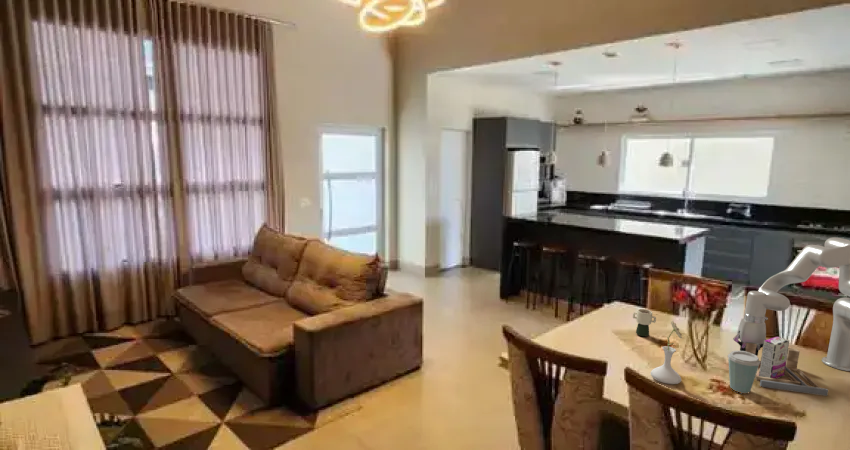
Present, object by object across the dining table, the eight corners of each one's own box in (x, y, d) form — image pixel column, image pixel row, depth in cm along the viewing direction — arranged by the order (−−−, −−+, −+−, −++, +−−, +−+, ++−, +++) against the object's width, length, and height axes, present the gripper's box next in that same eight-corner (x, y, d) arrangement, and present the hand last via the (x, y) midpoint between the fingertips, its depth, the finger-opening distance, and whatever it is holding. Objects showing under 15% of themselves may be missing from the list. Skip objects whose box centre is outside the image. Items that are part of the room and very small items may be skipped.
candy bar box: (771, 371, 202) (777, 335, 199) (784, 376, 197) (790, 340, 195) (757, 376, 196) (763, 339, 194) (770, 381, 192) (776, 344, 189)
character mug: (654, 335, 238) (657, 311, 235) (652, 339, 232) (655, 315, 230) (632, 330, 244) (635, 307, 242) (629, 334, 238) (632, 310, 236)
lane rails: (799, 371, 202) (800, 366, 201) (827, 395, 182) (828, 390, 181) (740, 364, 208) (740, 358, 207) (760, 386, 187) (761, 380, 187)
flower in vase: (679, 390, 182) (687, 330, 178) (648, 381, 188) (655, 323, 184) (681, 376, 193) (689, 320, 189) (652, 369, 199) (658, 314, 195)
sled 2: (794, 367, 206) (797, 348, 204) (822, 392, 184) (826, 371, 183) (781, 366, 207) (784, 347, 206) (808, 390, 185) (812, 369, 184)
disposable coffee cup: (744, 398, 177) (749, 362, 175) (717, 385, 187) (722, 351, 185) (761, 394, 182) (767, 358, 179) (733, 381, 191) (739, 347, 189)
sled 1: (774, 362, 210) (777, 342, 209) (799, 386, 189) (803, 363, 187) (735, 357, 214) (738, 337, 213) (756, 380, 193) (760, 358, 191)
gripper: (771, 317, 210) (765, 355, 213) (730, 313, 214) (724, 350, 217) (779, 323, 203) (772, 362, 206) (736, 318, 207) (730, 356, 210)
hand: (748, 355), depth 211 cm, fingers closed on sled 1, 4 cm apart
